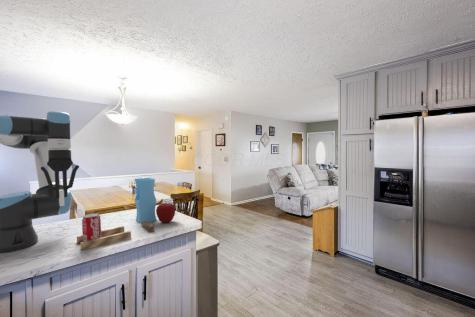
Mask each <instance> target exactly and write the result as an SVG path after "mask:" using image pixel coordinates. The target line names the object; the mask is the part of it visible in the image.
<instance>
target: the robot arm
mask: <svg viewBox="0 0 475 317" xmlns="http://www.w3.org/2000/svg"><path fill="white" fill-rule="evenodd" d="M71 142H72V141H71V119H70V114H69V113H68V112H64V111H48V112H46V118H41V117H39V118H38V117H26V116H25V117H24V116H14V115H8V114H7V115H6V114H5V115H0V144H1V145H3V146H6V147H9V148H14V149H20V150H21V149H22V150H23V149H27V150H29V152H30V153H32V154H33V155H34V162H35V169H36V174H37V181H38V188H37V190H36V191H35V193H32V192H31V191H29V190H25V191H17V192H12V193H8V194H3V195H1V196H0V254H1V253H3V254H4V253H10V252H13V251H15V252H16V251H19V250H22V249H26V248H28V247H30V246H33V245H35V244H37V243H38V242H39V236H38V234H37V232H36V230H35V228H34V226H33V220H36V219H42V218H48V217H55V216H60V215H65V214H67V213H68V212H69V211H70V209H71V205H72V204H71V203H72V192H71V190H70V189H72V188H73V185H74V183H75V182H74V181H75V177H76V174H77V171H78V170H79V168H80V165H78V164H75V163H74V161H73V160H72V150H71V146H72V145H71ZM70 168H71V169H72V170H71V174H70V177H69V181H68V174H67V173H68V170H70ZM60 172H62V183H61V179H60Z"/></svg>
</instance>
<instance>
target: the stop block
mask: <svg viewBox="0 0 475 317" xmlns="http://www.w3.org/2000/svg"><path fill="white" fill-rule="evenodd" d="M141 228H143V229H144V230H145V231H147V232H149V233H155V229H156V228H155V225H153V224H151V223H150V222H147V221H142V223H141Z"/></svg>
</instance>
